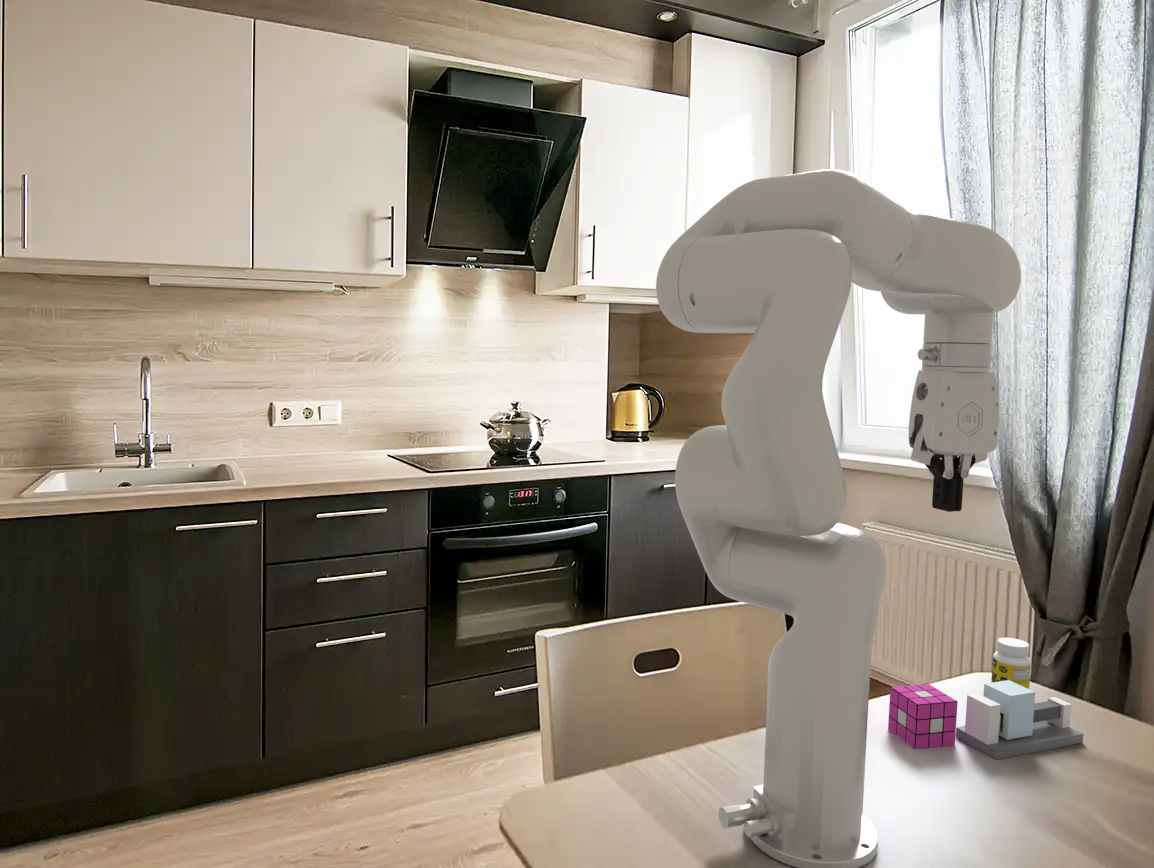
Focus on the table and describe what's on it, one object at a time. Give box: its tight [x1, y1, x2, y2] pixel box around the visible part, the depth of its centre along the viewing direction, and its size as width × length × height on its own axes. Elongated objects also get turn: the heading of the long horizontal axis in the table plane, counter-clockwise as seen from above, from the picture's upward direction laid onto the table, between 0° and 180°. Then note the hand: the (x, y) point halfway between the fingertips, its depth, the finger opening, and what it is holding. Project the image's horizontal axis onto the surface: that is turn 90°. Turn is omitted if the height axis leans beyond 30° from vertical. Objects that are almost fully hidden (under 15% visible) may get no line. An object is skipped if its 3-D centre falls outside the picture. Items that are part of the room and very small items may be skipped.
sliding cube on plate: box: [955, 692, 1084, 760], centre depth 108 cm, size 14×6×6 cm, turn 110°
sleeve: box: [983, 680, 1036, 740], centre depth 107 cm, size 4×4×6 cm
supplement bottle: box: [990, 637, 1032, 689], centre depth 120 cm, size 5×5×8 cm
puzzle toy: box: [887, 683, 958, 750], centre depth 108 cm, size 6×6×6 cm
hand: (946, 509), depth 105 cm, fingers closed
